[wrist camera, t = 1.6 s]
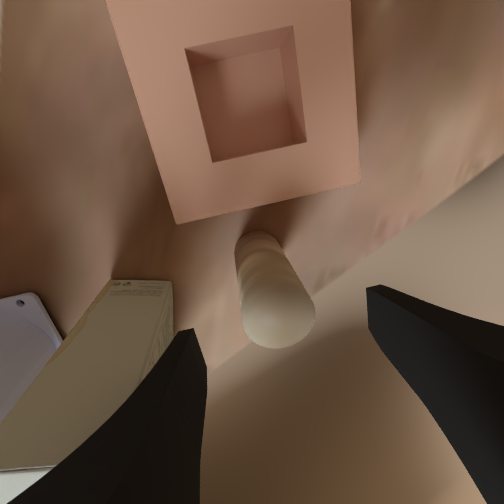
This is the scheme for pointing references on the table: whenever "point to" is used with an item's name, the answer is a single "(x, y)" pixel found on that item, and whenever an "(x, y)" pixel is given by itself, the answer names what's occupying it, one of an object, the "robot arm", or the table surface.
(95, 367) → the skincare box
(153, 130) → the socket block
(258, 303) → the beech peg
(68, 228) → the table surface
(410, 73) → the table surface
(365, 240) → the table surface
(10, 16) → the table surface
